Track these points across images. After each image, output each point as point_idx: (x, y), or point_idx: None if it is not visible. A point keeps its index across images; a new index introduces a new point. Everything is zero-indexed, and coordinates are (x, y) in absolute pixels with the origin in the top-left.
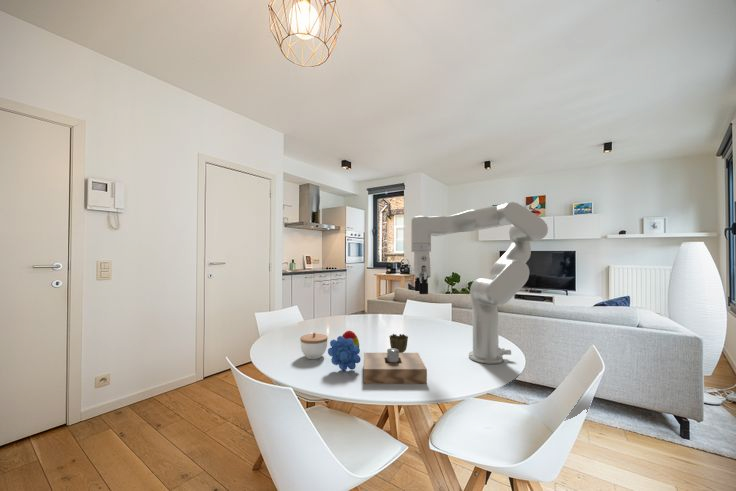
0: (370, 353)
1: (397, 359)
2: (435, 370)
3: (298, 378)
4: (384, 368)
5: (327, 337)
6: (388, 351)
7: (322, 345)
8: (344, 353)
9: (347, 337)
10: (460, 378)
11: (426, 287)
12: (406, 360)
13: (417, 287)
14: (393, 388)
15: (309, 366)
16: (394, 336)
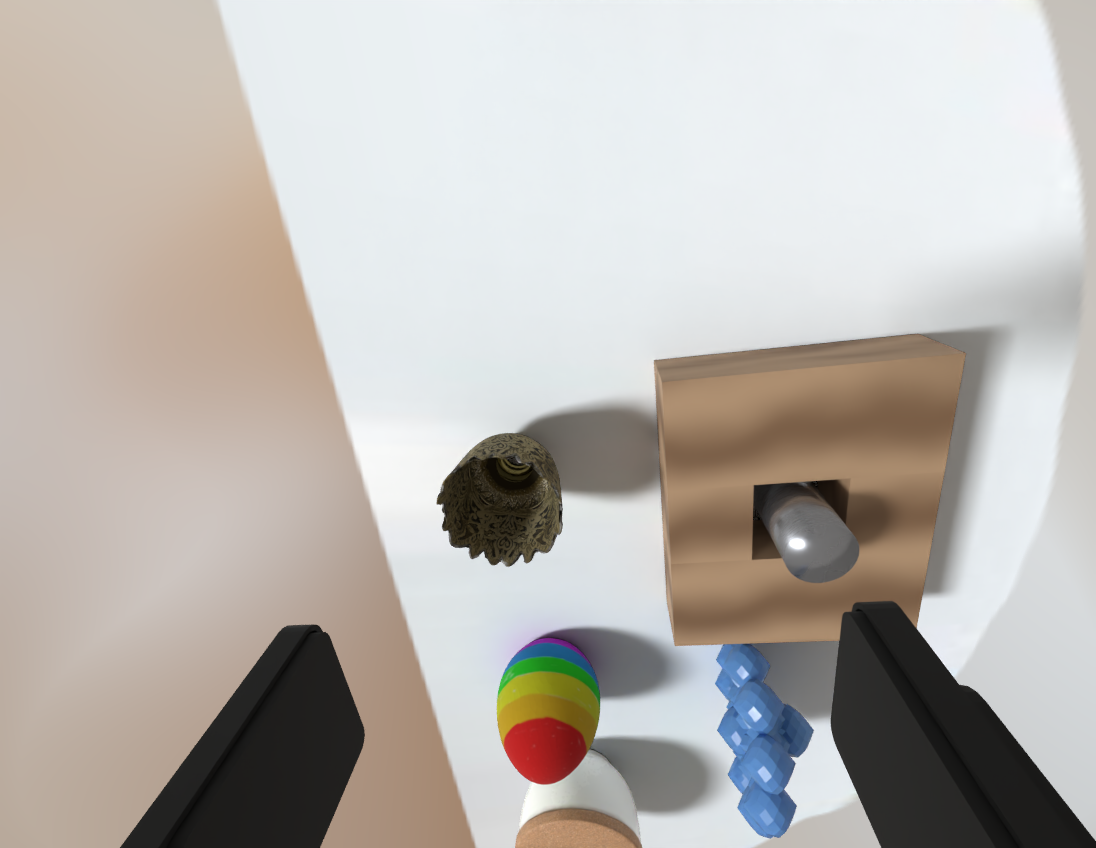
0: (686, 619)
1: (831, 507)
2: (735, 266)
3: (809, 778)
4: (919, 559)
5: (570, 819)
6: (838, 576)
7: (616, 803)
8: (806, 740)
9: (582, 756)
10: (867, 121)
11: (987, 770)
12: (805, 454)
13: (326, 775)
14: (948, 484)
15: (691, 767)
16: (455, 528)
